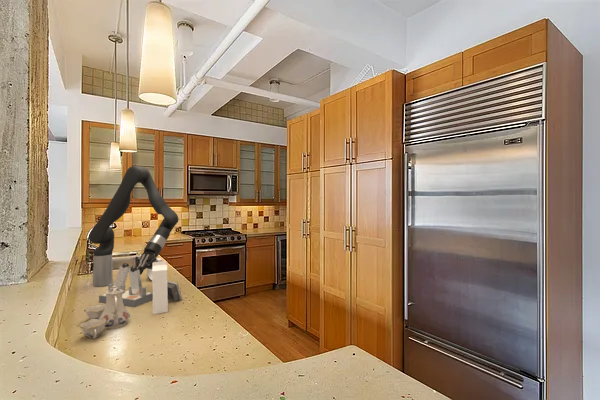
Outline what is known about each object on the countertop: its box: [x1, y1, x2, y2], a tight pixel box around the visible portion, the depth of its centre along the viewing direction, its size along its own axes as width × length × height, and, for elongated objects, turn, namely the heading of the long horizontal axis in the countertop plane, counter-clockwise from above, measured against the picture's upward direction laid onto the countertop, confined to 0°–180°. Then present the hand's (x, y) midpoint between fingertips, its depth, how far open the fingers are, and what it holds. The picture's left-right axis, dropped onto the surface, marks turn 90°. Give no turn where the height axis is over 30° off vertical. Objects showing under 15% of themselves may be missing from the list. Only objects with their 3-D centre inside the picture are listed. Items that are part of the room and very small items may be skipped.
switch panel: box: [98, 282, 153, 308], centre depth 155 cm, size 22×12×7 cm, turn 72°
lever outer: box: [128, 265, 143, 295], centre depth 152 cm, size 5×3×14 cm, turn 72°
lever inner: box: [113, 262, 131, 288], centre depth 160 cm, size 5×3×14 cm, turn 72°
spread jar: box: [146, 257, 163, 281], centre depth 195 cm, size 12×11×12 cm
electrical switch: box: [167, 280, 183, 303], centre depth 156 cm, size 9×5×9 cm, turn 57°
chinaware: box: [79, 285, 131, 340], centre depth 125 cm, size 28×17×17 cm, turn 35°
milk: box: [151, 260, 169, 315], centre depth 141 cm, size 6×6×22 cm
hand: (137, 275), depth 153 cm, fingers closed
